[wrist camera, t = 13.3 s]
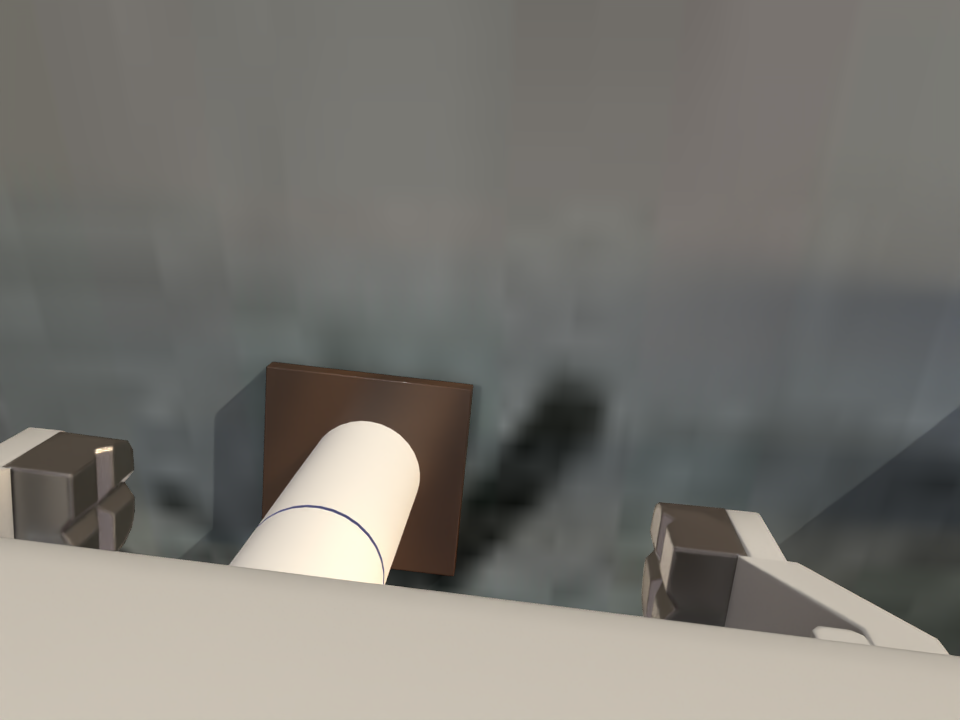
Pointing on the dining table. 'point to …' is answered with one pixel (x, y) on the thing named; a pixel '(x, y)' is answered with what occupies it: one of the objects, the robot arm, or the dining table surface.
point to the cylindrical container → (340, 508)
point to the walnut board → (397, 405)
